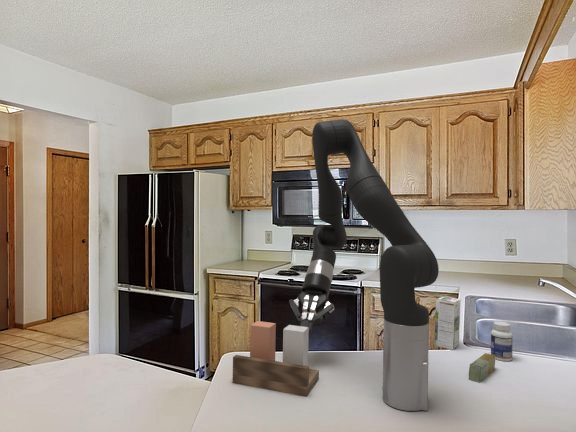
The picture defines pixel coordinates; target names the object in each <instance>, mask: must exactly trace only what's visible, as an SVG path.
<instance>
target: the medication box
mask: <svg viewBox="0 0 576 432" xmlns="http://www.w3.org/2000/svg"><path fill="white" fill-rule="evenodd" d="M495 368H496V359H495V356H494V355H491V353H486V352H485V353H483V355H481V356H480V357H477V358H476V359H475V360H474V361H472V362H471V363H469V368H468V380H469V381H471V382H475V383H480V382H481V381H483V380H484V379H485V378H486V377H488V375H489V374H491V373H492V372H493V371H495Z"/></svg>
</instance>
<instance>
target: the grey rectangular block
mask: <svg viewBox="0 0 576 432" xmlns="http://www.w3.org/2000/svg"><path fill="white" fill-rule="evenodd" d="M282 333H283V334H282V337H283V338H282V362H285V363H291V364H298V365H304V366H309V336H310V335H309V327H302V326H300V325H293V324H288V325H287V326H285V327H284V328H283V331H282Z"/></svg>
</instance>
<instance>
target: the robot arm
mask: <svg viewBox="0 0 576 432" xmlns="http://www.w3.org/2000/svg"><path fill="white" fill-rule="evenodd" d="M311 133H312V136H311V138H312V139H311V141H312V150H313V151H312V152H313V159H314V160H313V161H314V167H315V173H316V180H317V191H318V206H317V208H318V211H317V212H318V215H317V216H318V218H319V220H320V221H321V222H323V223H326V224H318V225H316V226H315V227H314V229H313V230H312V245H313V246H312V248H313V250H312V255H311V259H310V263H309V265H308V267H307V270H306V274H305V277H304V281H303V283H302V286H301V292H300V293H299V294H298V296H297V298H296V299H292V298H291V299H289V300H288V303H289V305H290V307H291V309H292V311H293V313H294V316H295V318H296V319H297V321H298V322H300V325H299V326H302V327H309V336H310V335H311V334H312V329H313V326H314V325H315V324H321V323H323V322H324V321H325V320H326V319H328V317H330V316H331V315H332V314H333V313H334V312H335V311H336V310H335V305H334V303H331V302H330V300H329V295H330V291H331V290H330V289H331V285H332V283H333V277H334V276H333V275H334V269H335V265H336V261H337V260H336V259H337V253H336V252H335V250H341V249H343V248H344V247H345V246H346V244H347V237H348V235H347V231H346V228H345V224H344V219H343V193H342V190H341V187H340V185H339V183H338V181H336V178H335V177H334V176H333V174H332V172H331V169H330V167H329V156H332V155H333V156H334V155H340V154H343V155H345V156H346V157H347V159H348V162H349V170H348V175H347V179H346V187H345V188H346V193H347V195H348V198H349V200H350V201H351V203H352V205H353V207H354V208H355V210H356V212H357V213H358V215H359V216H360V217H361V218H363V220H364V221H365V222H367V223H368V224H369V225H371V226H372V227H373V228H374V229H375V230H377V232H379V233H380V234H381V235H383V236H384V237H385V238H386V239H387V241H388V242H389V243H390V245H391V246H389V247H387V248H386V249H385V250H384V251H383V253H382V255H381V258H380V262H379V288H380V289H379V290H380V292H379V293H380V304H381V307H382V310H383V337H382V338H383V340H382V341H383V345H382V349H383V350H382V387H381V389H382V396H381V397H382V400H383V402H384V403H385V404H386V405H388V406H389V407H392V408H394V409H398V410H401V411H405V412H406V411H407V412H408V411H409V412H416V411H424V412H425V411H426V412H427V411H428V402H429V401H428V399H429V397H428V395H429V392H428V391H429V339H430V337H429V336H430V335H429V334H430V333H429V331H430V310H429V309H428V308H427V307H426V306H424V305H422V304H419V303H417V301H416V291H415V289H416V288H419V289H420V288H425V287H428V286H431V285H432V284H434V283H436V281H437V279H438V277H439V263H438V260H437V257H436V254H435V253H434V252H433V250H432V249H431V247H430V246H429V245H428V243H427V242H426V241H425V240H424V239H423V237H422V236H421V234H420V233H419V232H418V231H417V230H416V228H415V227H414V225H412V223H411V221H409V219H408V217H407V216H406V213H404V211H403V210H402V208H401V206H400V205H399V204H398V202H397V200H396V199H395V197H394V195H393V194H392V192H391V190H390V188H389V187H388V185H387V184H386V182H385V181H384V179H383V177H382V175H380V173H379V172H378V170H377V169H376V167H375V166H374V164H373V161H372V160H371V158H370V156H369V155H368V153H367V151H366V148H365V147H364V145H363V143H362V140H361V139H360V137H359V134H358V132H357V131H356V128H355V126H354V125H353V124H352V123H351V122H350V121H349V120H348V119H345V118H344V119H343V118H339V119H335V120H334V119H333V120H332V119H331V120H324V121H319V122H317V123H315V125H314V126H313V128H312V132H311ZM328 224H329V225H328ZM334 249H335V250H334ZM299 306H301V309H302V313H301V312H300V310H299Z"/></svg>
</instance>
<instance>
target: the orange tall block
mask: <svg viewBox="0 0 576 432" xmlns="http://www.w3.org/2000/svg"><path fill="white" fill-rule="evenodd" d="M276 329H277V323H276V322H275V323H274V322H270V321H269V322H267V321H260V320H256V321H255V322H253V323H252V324H250V336H249V337H250V339H249V342H250V343H249V357H253V358H260V359H266V360H272V361H276V344H277V343H276V341H277V340H276V338H277V337H276V335H277V333H276Z"/></svg>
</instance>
